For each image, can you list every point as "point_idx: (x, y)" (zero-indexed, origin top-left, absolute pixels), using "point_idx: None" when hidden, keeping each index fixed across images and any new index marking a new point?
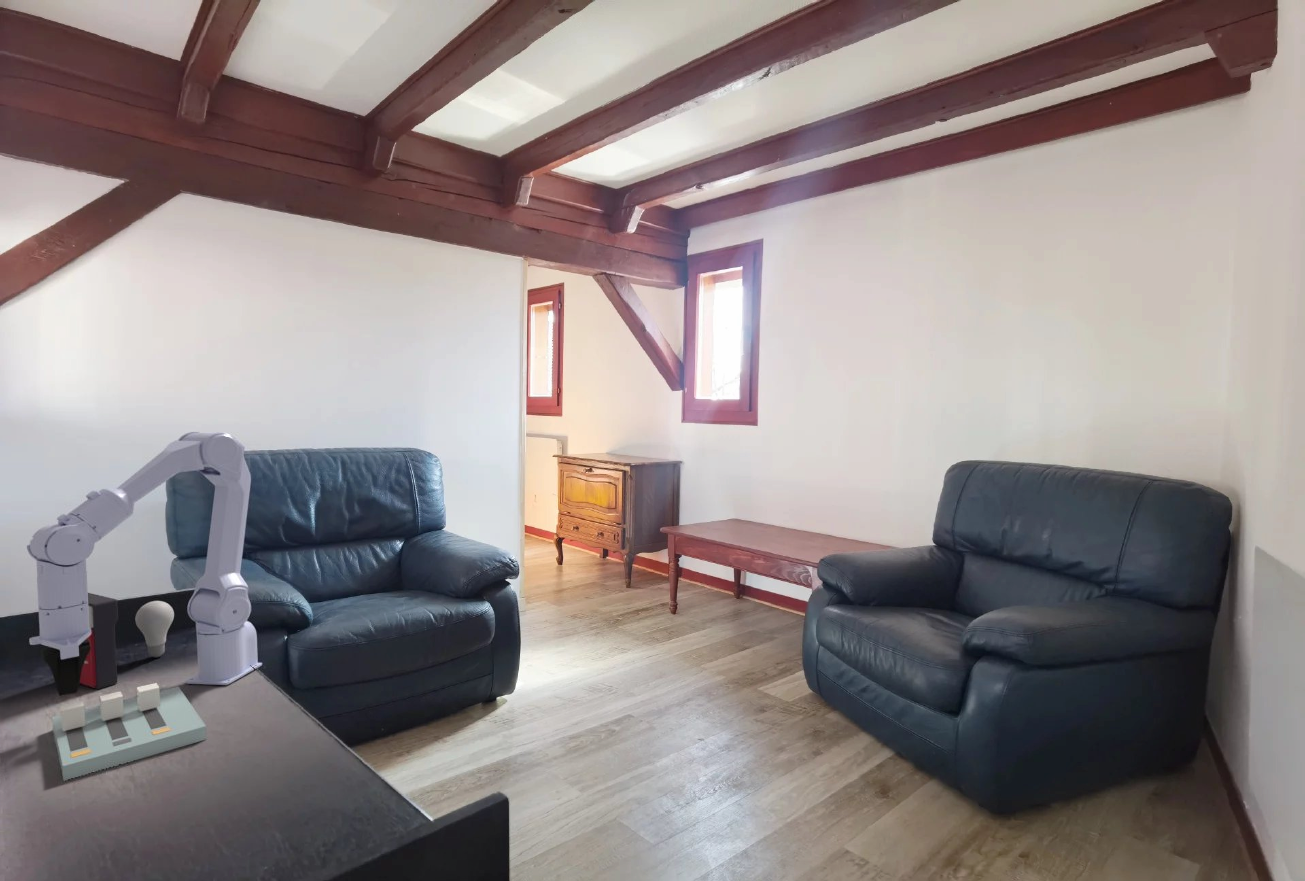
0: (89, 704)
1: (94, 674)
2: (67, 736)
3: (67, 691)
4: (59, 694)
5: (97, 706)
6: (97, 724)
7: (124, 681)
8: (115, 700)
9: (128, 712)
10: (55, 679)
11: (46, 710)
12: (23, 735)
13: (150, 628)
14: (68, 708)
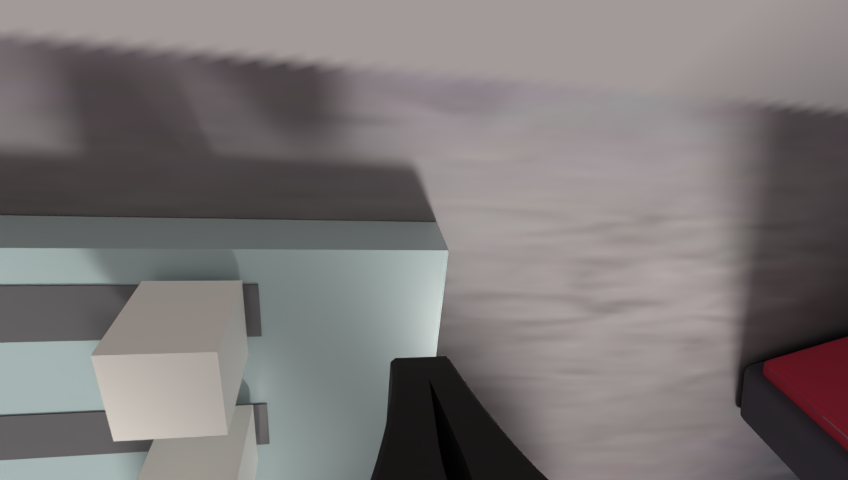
0: (616, 337)
1: (803, 405)
2: (84, 287)
3: (389, 402)
4: (392, 364)
5: None
6: None
7: (737, 427)
8: None
9: None
10: (382, 446)
11: (706, 219)
12: (480, 123)
13: None
14: (110, 383)
